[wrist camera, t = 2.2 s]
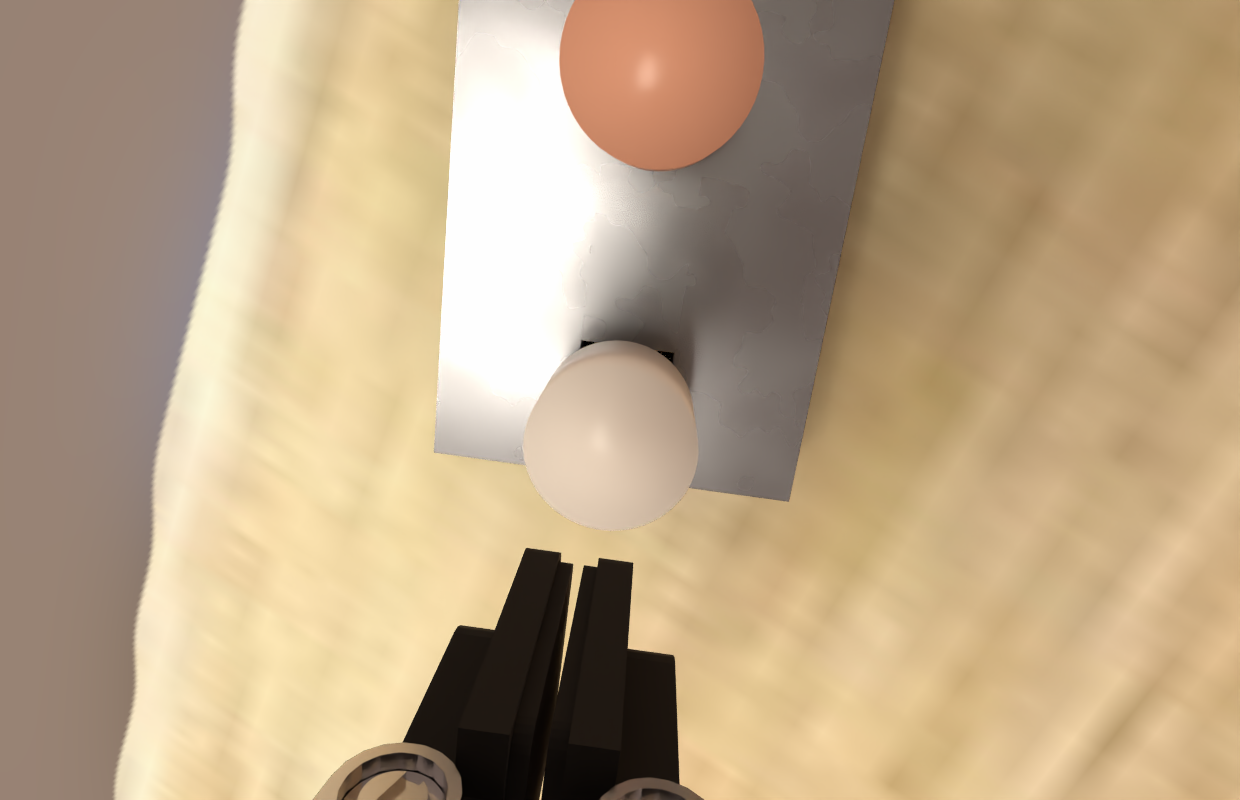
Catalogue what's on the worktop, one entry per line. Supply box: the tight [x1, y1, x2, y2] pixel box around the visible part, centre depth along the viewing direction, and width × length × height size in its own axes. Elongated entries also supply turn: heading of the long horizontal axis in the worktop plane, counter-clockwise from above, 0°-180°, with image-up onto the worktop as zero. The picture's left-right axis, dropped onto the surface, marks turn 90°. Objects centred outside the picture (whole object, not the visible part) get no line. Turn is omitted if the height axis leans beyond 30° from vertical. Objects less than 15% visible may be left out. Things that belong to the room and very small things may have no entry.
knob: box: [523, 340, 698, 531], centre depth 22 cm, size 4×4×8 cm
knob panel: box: [434, 0, 894, 502], centre depth 23 cm, size 24×12×5 cm, turn 173°
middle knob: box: [559, 0, 764, 172], centre depth 19 cm, size 4×4×8 cm
